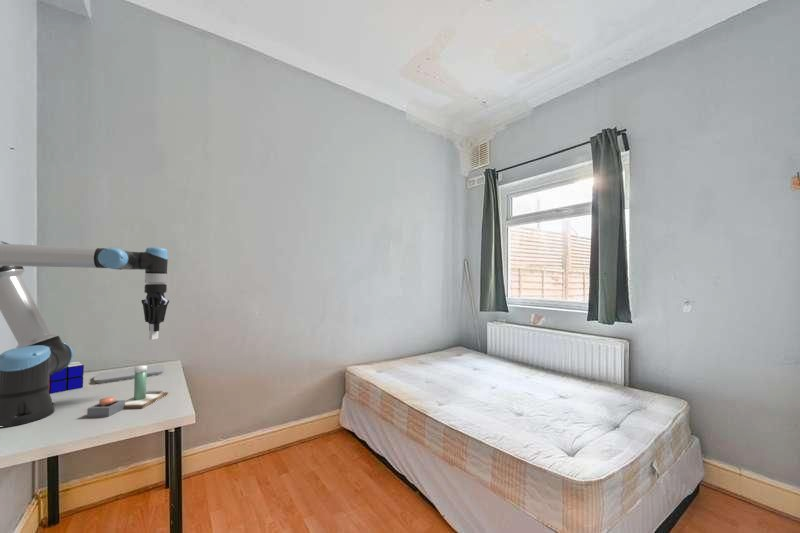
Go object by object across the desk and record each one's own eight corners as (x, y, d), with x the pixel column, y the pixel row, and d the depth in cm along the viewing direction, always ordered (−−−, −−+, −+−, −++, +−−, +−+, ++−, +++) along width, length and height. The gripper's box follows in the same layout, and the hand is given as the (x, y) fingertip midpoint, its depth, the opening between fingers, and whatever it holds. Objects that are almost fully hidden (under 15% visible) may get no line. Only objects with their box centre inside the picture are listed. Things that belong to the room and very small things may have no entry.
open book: (142, 408, 116) (142, 403, 116) (113, 409, 116) (113, 404, 116) (167, 394, 130) (168, 390, 130) (142, 395, 130) (142, 390, 130)
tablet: (164, 375, 159) (165, 370, 159) (92, 386, 142) (93, 381, 142) (162, 368, 171) (162, 363, 172) (96, 377, 155) (96, 372, 155)
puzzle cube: (49, 394, 131) (50, 369, 132) (46, 389, 137) (47, 365, 138) (83, 387, 139) (84, 364, 140) (78, 383, 145) (79, 361, 146)
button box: (108, 416, 109) (109, 407, 110) (87, 417, 109) (87, 408, 109) (124, 408, 116) (125, 400, 117) (104, 408, 116) (105, 400, 116)
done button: (108, 405, 111) (108, 400, 111) (96, 405, 111) (96, 401, 111) (117, 400, 115) (117, 396, 115) (105, 401, 115) (106, 396, 115)
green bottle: (141, 400, 121) (142, 367, 122) (130, 400, 121) (132, 368, 122) (148, 396, 125) (149, 365, 126) (138, 396, 125) (139, 365, 125)
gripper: (175, 283, 138) (173, 338, 137) (153, 283, 142) (151, 336, 141) (158, 283, 131) (156, 341, 130) (135, 283, 135) (133, 339, 134)
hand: (153, 339), depth 136 cm, fingers closed
